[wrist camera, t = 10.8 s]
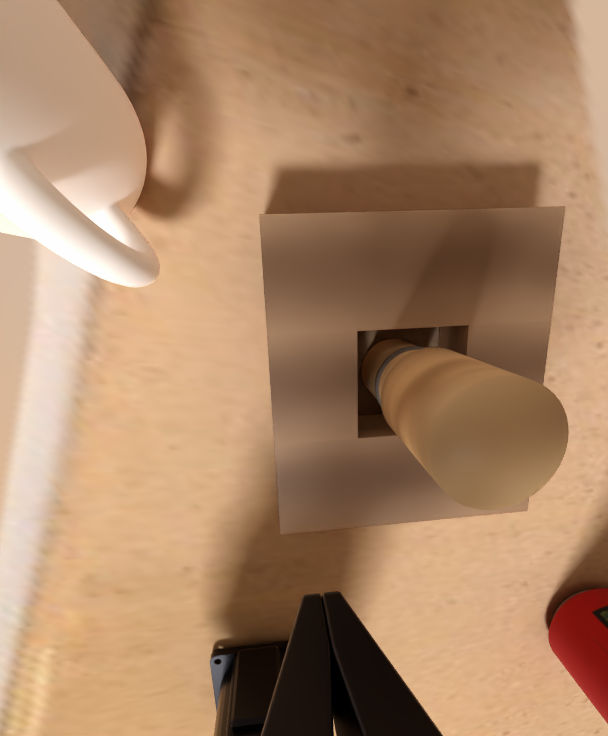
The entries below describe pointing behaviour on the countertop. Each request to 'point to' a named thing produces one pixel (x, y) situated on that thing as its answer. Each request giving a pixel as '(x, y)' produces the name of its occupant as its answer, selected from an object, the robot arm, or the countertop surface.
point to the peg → (468, 421)
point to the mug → (69, 147)
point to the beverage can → (584, 643)
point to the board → (381, 312)
